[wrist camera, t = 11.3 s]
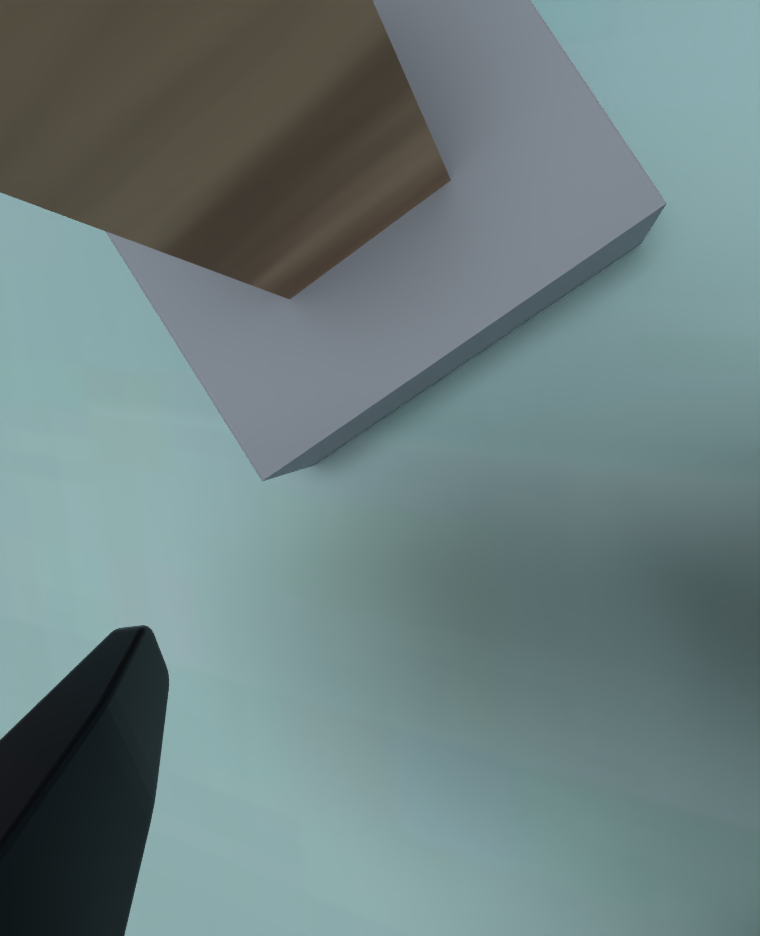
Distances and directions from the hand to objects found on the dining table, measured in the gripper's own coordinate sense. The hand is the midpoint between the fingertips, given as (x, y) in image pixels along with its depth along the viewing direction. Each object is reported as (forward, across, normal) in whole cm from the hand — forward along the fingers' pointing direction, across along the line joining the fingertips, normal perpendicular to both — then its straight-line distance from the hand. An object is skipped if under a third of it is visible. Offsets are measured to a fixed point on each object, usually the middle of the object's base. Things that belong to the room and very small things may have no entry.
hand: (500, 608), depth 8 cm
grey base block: (+15, +1, -3) cm, 16 cm away
